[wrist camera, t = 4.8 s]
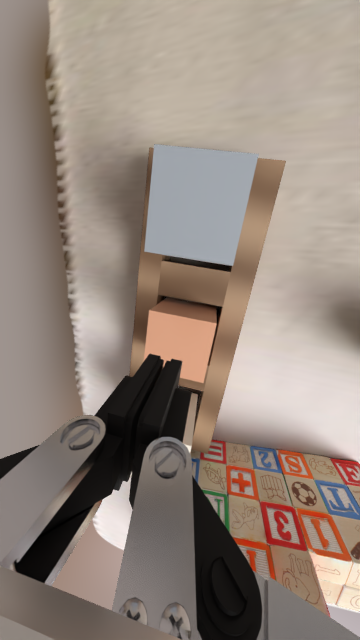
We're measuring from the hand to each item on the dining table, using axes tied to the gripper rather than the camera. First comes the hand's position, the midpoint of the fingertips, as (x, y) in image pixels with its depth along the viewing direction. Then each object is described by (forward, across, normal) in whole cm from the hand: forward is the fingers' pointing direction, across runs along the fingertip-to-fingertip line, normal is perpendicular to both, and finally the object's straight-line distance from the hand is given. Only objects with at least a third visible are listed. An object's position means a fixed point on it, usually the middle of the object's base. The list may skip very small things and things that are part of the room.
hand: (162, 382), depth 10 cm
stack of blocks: (+12, -12, +18) cm, 25 cm away
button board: (+12, 0, +1) cm, 12 cm away
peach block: (+11, 0, +1) cm, 11 cm away
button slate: (+9, 0, -8) cm, 12 cm away
